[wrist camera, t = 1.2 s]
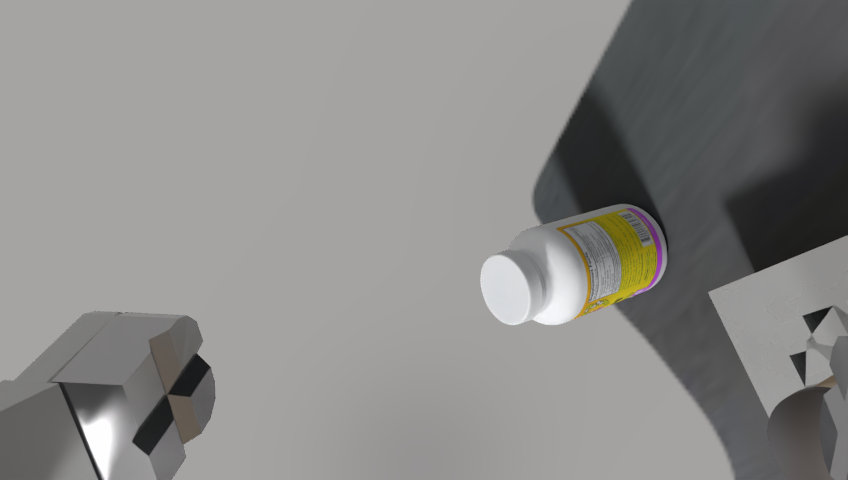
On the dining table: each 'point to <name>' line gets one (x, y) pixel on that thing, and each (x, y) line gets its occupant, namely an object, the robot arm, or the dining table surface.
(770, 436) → the beige and grey cylinder
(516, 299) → the supplement bottle
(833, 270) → the bore housing
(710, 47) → the dining table surface
